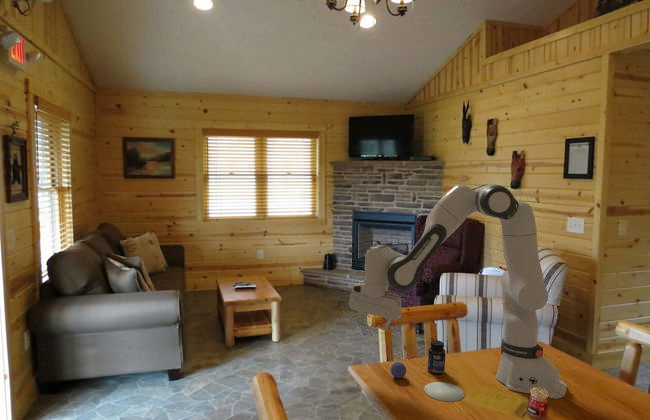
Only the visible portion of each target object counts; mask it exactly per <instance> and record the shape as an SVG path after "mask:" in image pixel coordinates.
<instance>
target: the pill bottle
mask: <svg viewBox="0 0 650 420" xmlns="http://www.w3.org/2000/svg"><path fill="white" fill-rule="evenodd" d="M444 347H445V343H444V342H443V341H441V340H436V339H435V340H431V341H430V347H428V351H427V353H428V356H427V372H429V373H430V374H432V375H435V376H438V375H439V376H440V375H443V374H444V373H445V369H446V367H445V366H446V350H445V349H444Z"/></svg>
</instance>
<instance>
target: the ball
mask: <svg viewBox="0 0 650 420" xmlns="http://www.w3.org/2000/svg"><path fill="white" fill-rule="evenodd" d="M390 373H391V375H392V376H393V377H394V378H396V379H402V378H404V377H405V376H406V374H407V368H406V365H405V364H404V363H403V362H400V361H397V362H393V363H392V364H391V366H390Z"/></svg>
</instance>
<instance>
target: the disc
mask: <svg viewBox="0 0 650 420" xmlns="http://www.w3.org/2000/svg"><path fill="white" fill-rule="evenodd" d="M423 391H424V392H425V393H426V395H427V396H429V397H430V398H431V399H435V400H436V401H442V402H450V403H451V402H458V401H461V400H463V398H465V392H464V390H463V389H462V388H461V387H459V386H458V385H455V384H453V383H449V382H443V381H432V382H431V383H427V384H426V385H425V386H424V390H423Z"/></svg>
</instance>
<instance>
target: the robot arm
mask: <svg viewBox="0 0 650 420" xmlns="http://www.w3.org/2000/svg"><path fill="white" fill-rule="evenodd" d="M475 212H478V213H481V214H482V215H484V216H487V217H491V218H495V219H499V221H500V224H501V236H502V251H503V258H504V259H503V260H504V262H505V265H506V269H507V270H505V271H504V272H503V274H502V275H501V278H500V285H501V297H502V307H503V308H502V309H503V334H502V335H503V336H502V339H501V341H500V354H501V356H500V362H499V366H498V369H497V373H496V375H495V377H496V379H497V380H498V381H499V382H500V383H502V384H503V385H505V387H506V388H507V389H509V390H510V391H513V392H518V393H524V394H528V395H530V394H529V392H530V389H531V388H533V387H542V388H545V389H546V390H547V391H548V395H549V399H555V400H559V399H561V398H563V397H565V396H566V395H567V390H568V389H567V388H568V387H567V385H566V383H565V382H564V381H563V380H561V379H560V373H559V370H558V368H557V367H556V366H555V365H554V364H553V363H551V362H550V361H549V360H548V359H547V358H546V357H545V356H544V345H539V343H538V333H539V332H538V331H539V319H538V316H537V311H538V310H540V309H543V308H544V307H545V306H546V305H547V302H548V301H549V292H548V290H547V286H546V283H545V279H544V274H543V268H542V265H541V262H540V258H539V249H538V248H539V247H538V234H537V233H538V232H537V225H536V224H537V223H536V218H535V215H534V210H533V208H532V206H531V204H529V203H527V202H525V201H522V200H521V201H520V200H519V201H518V200H517V199H516V198H515V195H514V194H513V193H512V192H511V190H510V189H508V188H507V187H505V186H504V185H501V184H500V185H499V184H496V183H490V184H483V185H480V186H477V187H475V188H471V187H470V186H468V185H465V184H456V185H455V186H453V187H452V188H451V189H449V190H448V191H447V192H446V193H445V194H444V195H443V196H442V197H440V199H439V200H438V201H437V203H436V204H435V205H434V206H433V207H432V209H431V210H430V212H429V213H428V214H427V217H426V219H425V226H424V230H423V233H422V235H421V237H420V239H419V240H418V242H416V244H415V245H414V246H413V247H412V249H410V251H409V253H408V254H407V255H405V254H402V253H400V252H398V251H396V250H393V249H392V248H391V247H390V246H389V245H387V244H375V245H372V246H370V247H368V249H367V250H366V253H365V259H364V271H365V275H364V279H363V282H358V283H356V284H354V285H352V286H351V292H350V294H349V295H350V296H349V304H348V306H349V308H350V310H353V311H357V315H358V317H359V323H361V324H363V325H364V324H366V323H367V318H366V317H365V316H364V314H367V315H368V314H369V315H373V316H377V317H381V318H385V321H386V323H383V324H382V329H383V330H385V331H387V330H389V327H390V326H389V325H390V323H391V322H392V321H398V320H399V319H400V318H402V314H403V313H402V297H401V295H399V294H398V293H394V292H390V291H389V284H390V286H391V287H392V288H393V289H396V290H398V291H408V290H411V289H413V287H414V286H415V285H416V284H417V282H418V280H419V275H420V273H421V271H422V269H423V268H424V266H425V264H427V262H428V260H429V259H430V258H431V257H432V256H433V254H434V253H435V252H436V251H437V249H438V248H439V247H440V246H441V245H442V244H443V243H444V242H445V241H446V240H447V239H448V238H449V237H450V236H452V234H453V233H454V232H456V230H457V229H459V227H460V226H461V225H462V224H463V223H464V221H466V220H467V217H468V216H469V217H470V215H471V214H473V213H475Z"/></svg>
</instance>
